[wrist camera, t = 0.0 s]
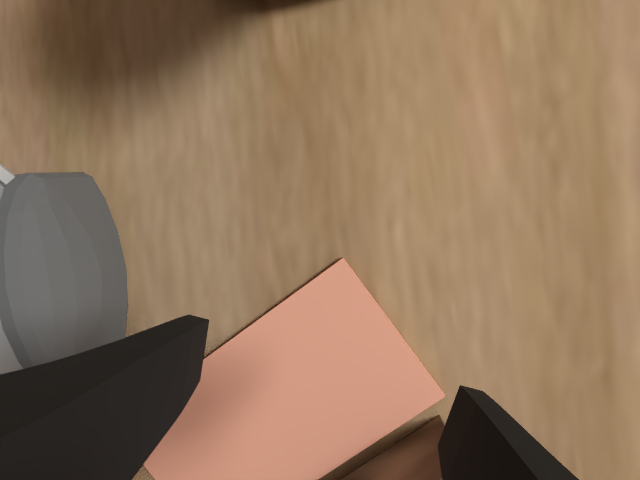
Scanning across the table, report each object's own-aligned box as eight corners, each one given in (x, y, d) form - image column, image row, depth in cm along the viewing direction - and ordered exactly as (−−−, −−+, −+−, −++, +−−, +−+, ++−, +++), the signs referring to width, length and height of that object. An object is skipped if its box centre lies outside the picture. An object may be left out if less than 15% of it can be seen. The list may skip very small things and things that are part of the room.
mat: (210, 545, 21) (208, 551, 21) (118, 421, 21) (114, 425, 21) (443, 392, 20) (445, 396, 19) (343, 257, 20) (342, 258, 19)
